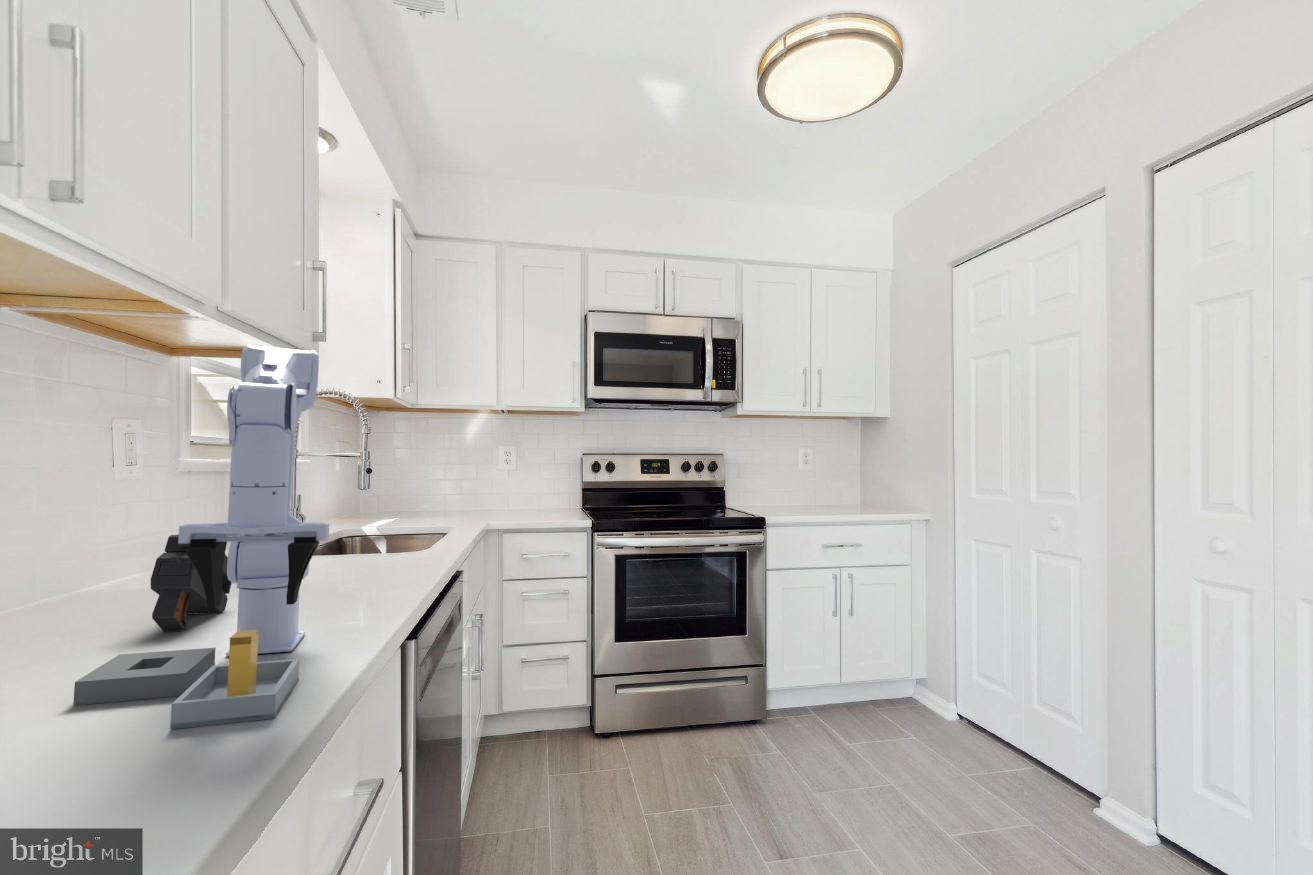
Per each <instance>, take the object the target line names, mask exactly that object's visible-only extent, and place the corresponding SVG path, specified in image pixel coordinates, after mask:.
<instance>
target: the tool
mask: <svg viewBox="0 0 1313 875" xmlns="http://www.w3.org/2000/svg"><path fill="white" fill-rule="evenodd" d="M178 538H179V534H171V535H169V536H168V538H167V542H166V545H165V546H164V547H165V548H164V552H163V553H162V554H161V555H159V556H158V557H156V559H155V564H154V566H153V570H152V574H151V577H150V590H152V591H153V592H154V593H156V594H157V595H158V598H157V600H156V602H155V605H154V608H153V611H152V613H151V618H152V620H153V621H154V623H155V624H156V625H157V626H158V627H159V628H160V630H161V632H178V631H179V632H180V630H183V631H186V629H187V625H188V620H187V618H186V616H187V615H190V614H189V613H207V614H223V613H224V612H225V610H226V606H227V604H228V594H230V592H231V587H232V584H233V583H231V581H229V580H228V577H227V560H228V555H227V554H226V553H225V556H224V563H223V571H222V600H221V604H220V605H219V606H217V607H216V608H209V609H208V605H207V599H206V595H205V591H204V588H203V584H202V582H201V579H200V577H199V574H198V572H197V570H196V569H195V567H194V565H193V563H192V562H191V560H190V559H189V557H188V556H187V552H186V549H187V548H189V546H190V543H178ZM223 611H224V612H223ZM222 612H223V613H222Z"/></svg>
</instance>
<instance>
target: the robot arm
mask: <svg viewBox="0 0 1313 875" xmlns="http://www.w3.org/2000/svg"><path fill="white" fill-rule="evenodd" d="M319 358H320V354H319V353H318V352H317V350H314V349H311V350H304V349H292V348H282V347H272V346H271V347H270V346H261V345H253V344H250V343H249V344H246V346H243V348H242V351H241V357H240V379H241V382H239V383H238V386H233V385H231V386H230V387H229V391H228V395H227V400H226V402H227V403H226V414H227V415H226V417H227V423H228V444H229V446H231V452H230V472H229V473H230V474H229V490H228V491H229V493H228V494H229V495H228V496H229V497H228V510H227V512H228V513H227V515H228V516H227V522H222V523H221V522H219V523H188V524H187V523H186V524H183V525H179V526H178V535H179V538H178V543H190V546H189V548H187V549H186V552H187V556H188V557H189V559H190V560H191V562H192V563H193V565H194V567H195V569H196V570H197V572H198V574H199V577H200V579H201V582H202V584H203V588H204V591H205V595H206V599H207V605H208V609H209V608H216V607H217V606H219V605H220V604H221V600H222V571H223V563H224V556H225V554H226V550H227V544H228V542H230V544H229V548H228V553H227V557H228V560H227V577H228V580H229V581H231V583H232V584H234V585H235V584H236V589H239V590H238V604H237V623H236V624H237V626H236V632H237V631H241V630H256V629H259V634H258V654H260V655H261V654H271V653H282V652H283V653H284V652H292V651H293V650H294V649H295V648H296V646H298V644H299V643H300V641H301V640H302V638H304V635H305V634H306V631H305V630H299V615H300V613H299V612H300V611H299V610H300V588H301V585H302V580H305V579H306V578H307V577H308V576H309V574H310V572H309V571H310V561H311V560H312V558H313V556H314V554H315V552H316V551H317V549H318V547H319V545H320V541H327V540H328V539H329V538H330V535H329V534H330V522H306V521H305V522H303V521H301V520H300V519H298V518H296V517H295V516H294V515H292V514H291V508H292V506H291V505H292V493H293V492H292V491H293V477H294V476H293V475H294V460H295V447H296V444H295V443H296V442H295V441H296V430H297V426H298V422H299V420H300V417H301V414H302V413H303V412H306V411H308V410H310V409H312V408H314V407H315V402H316V401H317V395H318V394H317V391H318V390H317V389H318V386H319V385H318V384H319V367H320V366H319V365H320V359H319ZM258 654H257V655H258ZM225 656H226V657H229V649H228V650H227V651H226V652H225Z"/></svg>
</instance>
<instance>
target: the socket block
mask: <svg viewBox="0 0 1313 875" xmlns="http://www.w3.org/2000/svg"><path fill="white" fill-rule="evenodd" d="M215 663H216V647H206V648H205V647H204V648H192V649H176V650H165V651H164V650H162V651H151V652H150V651H149V652H135V653H134V652H133V653H123V654H118V655H116V656H115V657H113V658H112V659H110V660H108V661H107V662H105V663H103V664H101V665H100V666H99V667H97V668H95V669H94V670H92V671H90V672H89V673H87V674H86V675H84V676H82V677H81V678H79V679H78V680H76V681H74V690H73V702H72V704H73V707H74V706H83V705H93V704H103V703H114V702H115V703H116V702H117V703H118V702H127V701H138V700H145V699H146V700H148V699H150V700H151V699H159V698H168V697H169V698H170V697H171V698H172V697H180V696H181V695H182V694H183V693H184V692H185V691H186V690H187V689H188V688H189V687H190V686H191V685H193V684H194V683H195V682H196V681H197V680H198V679H199V678H200V677H201V676H202V675H203V674H204V673H205V672H207V671H208V670H209V669H210V668H211V667H212V666H216V665H215Z"/></svg>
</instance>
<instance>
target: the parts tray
mask: <svg viewBox="0 0 1313 875" xmlns="http://www.w3.org/2000/svg"><path fill="white" fill-rule="evenodd" d="M228 668H229V663H228V664H217V665H215V666H212V667H211V668H210V669H209V670H208V671H207V672H205V673H204V674H203V675H202V676H201V677H200V678H199V679H198V680H197V681H196V682H195V683H194V684H193V685H191V686H190V687H189V688H188V689H187V690H186V691H185V692H184V693H183V694H182V695H181V696H177V697H176V699H175V700H174V701H173V702H172V703H171V706H170V707H171V708H170V709H171V711H170V724H169V725H170V727H169V729H170V730H176V729H188V728H189V729H190V728H197V727H198V728H199V727H206V726H215V725H223V724H233V723H243V722H250V721H251V722H252V721H260V720H271V719H276V717H277V715H278V713H279V711H281V709H282V707H283V705H284V704H285V702H286V700H287V699H288V697H289V696H290V694H291V692H292V691H293V689H294V688H295V685H297V682H298V681H299V680H300V679H299V678H300V658H295V659H294V658H293V659H281V660H267V661H257V675H256V692H255V693H254V694H250V695H239V696H228V697H227V688H228Z"/></svg>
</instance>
